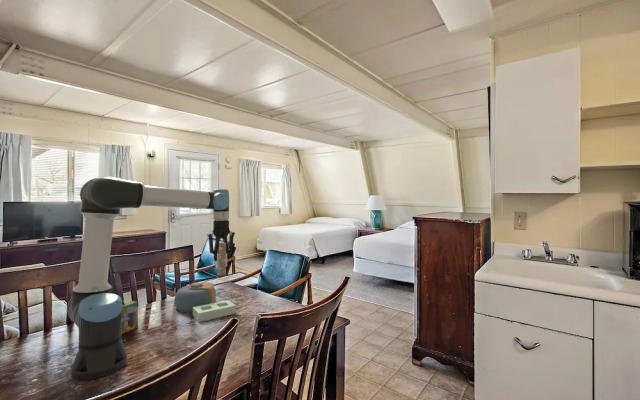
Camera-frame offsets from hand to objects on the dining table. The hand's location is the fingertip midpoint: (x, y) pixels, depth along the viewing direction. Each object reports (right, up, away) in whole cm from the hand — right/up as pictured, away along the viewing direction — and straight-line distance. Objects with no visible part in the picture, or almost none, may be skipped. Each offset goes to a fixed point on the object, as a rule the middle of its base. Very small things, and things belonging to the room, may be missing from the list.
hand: (221, 266), depth 149 cm
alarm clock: (-16, -23, +9) cm, 30 cm away
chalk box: (-36, -23, -20) cm, 48 cm away
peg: (0, -4, 0) cm, 4 cm away
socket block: (-3, -23, -2) cm, 24 cm away
